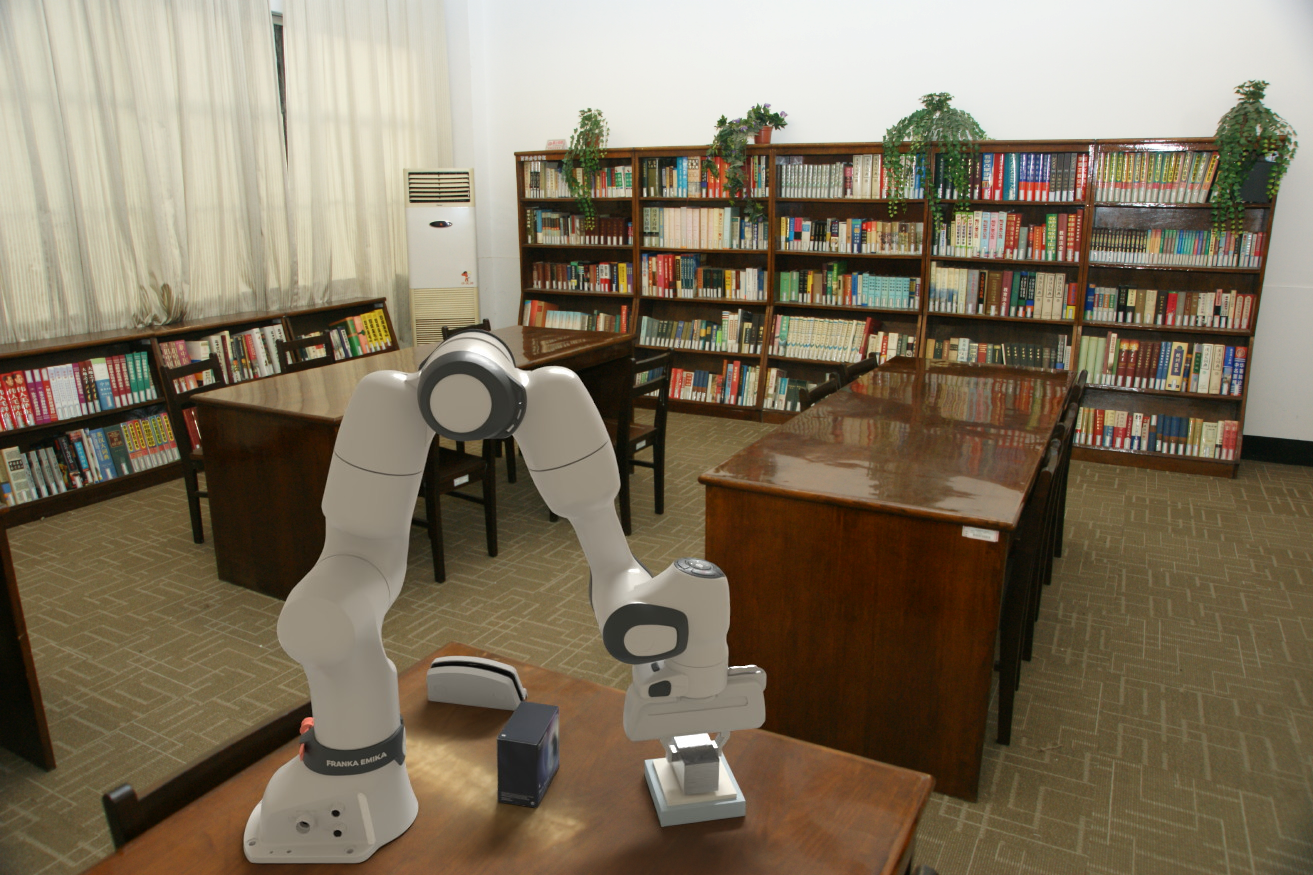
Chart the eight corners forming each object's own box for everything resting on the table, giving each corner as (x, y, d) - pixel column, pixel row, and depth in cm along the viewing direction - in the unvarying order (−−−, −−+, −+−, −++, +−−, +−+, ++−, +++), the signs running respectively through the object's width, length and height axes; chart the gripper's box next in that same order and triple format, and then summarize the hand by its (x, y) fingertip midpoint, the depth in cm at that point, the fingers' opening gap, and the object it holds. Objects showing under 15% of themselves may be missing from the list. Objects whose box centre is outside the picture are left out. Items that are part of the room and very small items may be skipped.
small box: (539, 809, 128) (538, 744, 125) (496, 803, 129) (493, 738, 126) (562, 765, 138) (561, 704, 135) (521, 759, 139) (519, 698, 136)
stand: (661, 826, 124) (661, 807, 124) (644, 773, 136) (644, 756, 135) (745, 815, 127) (745, 796, 126) (721, 764, 138) (722, 747, 137)
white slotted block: (529, 695, 157) (522, 655, 151) (521, 717, 153) (513, 677, 147) (439, 685, 160) (428, 645, 154) (428, 706, 156) (417, 667, 150)
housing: (669, 756, 134) (669, 726, 133) (701, 753, 135) (702, 723, 134) (683, 794, 126) (684, 763, 124) (718, 790, 127) (719, 758, 125)
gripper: (759, 653, 131) (755, 737, 135) (621, 665, 127) (620, 752, 131) (774, 674, 125) (769, 762, 129) (629, 689, 121) (628, 778, 125)
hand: (693, 757), depth 130 cm, fingers closed on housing, 5 cm apart
